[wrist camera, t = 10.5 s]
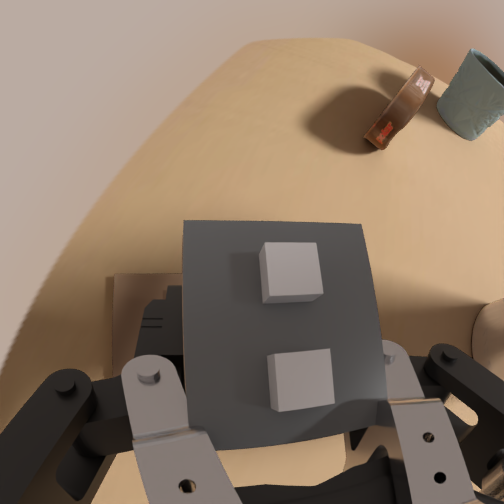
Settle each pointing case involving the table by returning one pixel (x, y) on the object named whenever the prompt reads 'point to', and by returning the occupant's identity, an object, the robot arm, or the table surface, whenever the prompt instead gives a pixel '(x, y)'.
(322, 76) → the table surface
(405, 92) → the tin
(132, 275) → the dock
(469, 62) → the teal embossed cup
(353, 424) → the cell
